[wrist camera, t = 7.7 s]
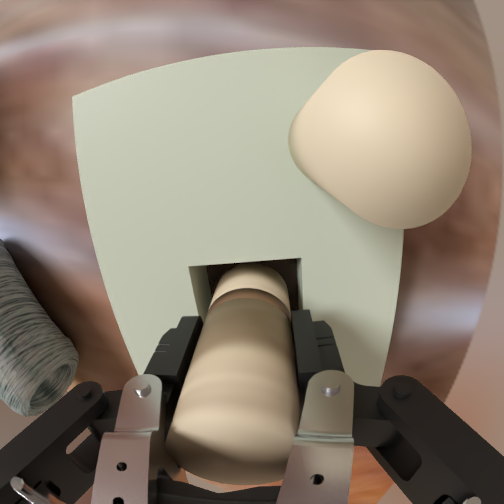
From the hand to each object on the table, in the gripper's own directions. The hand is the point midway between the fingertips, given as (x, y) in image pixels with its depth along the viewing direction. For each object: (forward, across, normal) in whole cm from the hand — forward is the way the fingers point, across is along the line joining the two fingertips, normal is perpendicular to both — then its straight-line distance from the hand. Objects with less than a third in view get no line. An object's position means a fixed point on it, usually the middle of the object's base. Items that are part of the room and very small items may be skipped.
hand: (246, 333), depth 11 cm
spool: (+5, +18, +1) cm, 19 cm away
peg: (+3, 0, 0) cm, 3 cm away
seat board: (+5, 0, -2) cm, 5 cm away
